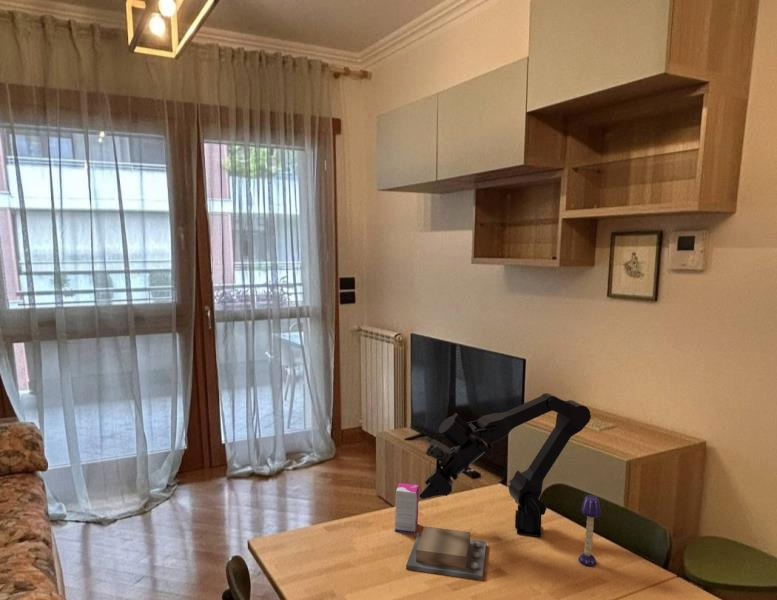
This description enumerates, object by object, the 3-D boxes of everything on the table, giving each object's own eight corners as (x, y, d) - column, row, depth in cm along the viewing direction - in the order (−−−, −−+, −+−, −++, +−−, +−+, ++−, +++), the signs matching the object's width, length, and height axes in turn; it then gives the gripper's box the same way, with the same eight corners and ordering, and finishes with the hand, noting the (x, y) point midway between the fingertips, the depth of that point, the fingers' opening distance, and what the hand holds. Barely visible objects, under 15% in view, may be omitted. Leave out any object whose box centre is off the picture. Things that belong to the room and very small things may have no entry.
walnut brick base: (486, 545, 140) (486, 530, 140) (482, 580, 124) (482, 563, 124) (418, 536, 144) (418, 521, 144) (406, 569, 129) (406, 552, 128)
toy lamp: (598, 559, 134) (601, 494, 132) (599, 569, 129) (601, 502, 128) (578, 556, 135) (580, 491, 134) (578, 565, 131) (580, 499, 130)
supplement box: (415, 533, 146) (416, 492, 145) (394, 531, 147) (394, 490, 146) (418, 523, 151) (419, 484, 150) (398, 521, 152) (398, 482, 152)
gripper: (448, 422, 154) (410, 456, 157) (439, 443, 136) (396, 481, 139) (475, 451, 152) (436, 485, 156) (470, 476, 134) (425, 514, 138)
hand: (423, 490), depth 147 cm, fingers open, 9 cm apart
